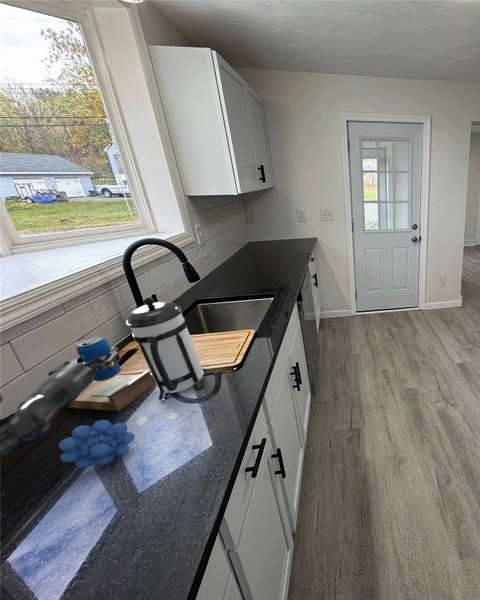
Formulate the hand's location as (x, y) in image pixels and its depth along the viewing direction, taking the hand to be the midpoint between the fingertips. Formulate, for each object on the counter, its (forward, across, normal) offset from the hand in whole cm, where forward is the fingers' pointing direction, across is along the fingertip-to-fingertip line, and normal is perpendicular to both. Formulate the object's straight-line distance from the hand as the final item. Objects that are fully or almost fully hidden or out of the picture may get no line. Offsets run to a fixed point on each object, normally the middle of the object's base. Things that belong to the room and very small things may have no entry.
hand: (102, 352), depth 92 cm
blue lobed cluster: (-32, -11, +15) cm, 37 cm away
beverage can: (-2, 0, +7) cm, 8 cm away
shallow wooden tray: (-1, +2, +14) cm, 14 cm away
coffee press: (-6, -19, +15) cm, 25 cm away
